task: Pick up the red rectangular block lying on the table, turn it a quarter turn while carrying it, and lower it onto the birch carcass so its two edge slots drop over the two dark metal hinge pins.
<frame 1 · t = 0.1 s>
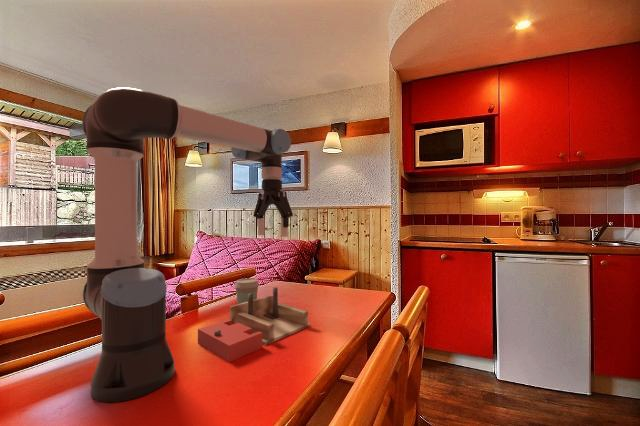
hand: (272, 236, 108), 28 cm above the table, fingers open, 13 cm apart
coffee cup: (247, 313, 105), on the table
red rectangular block: (229, 345, 79), on the table
carcass: (270, 327, 92), on the table
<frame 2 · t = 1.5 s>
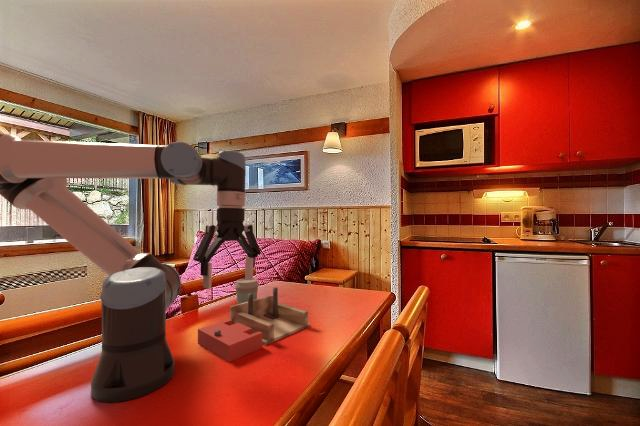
hand: (229, 283, 80), 17 cm above the table, fingers open, 13 cm apart
nothing on the table moved.
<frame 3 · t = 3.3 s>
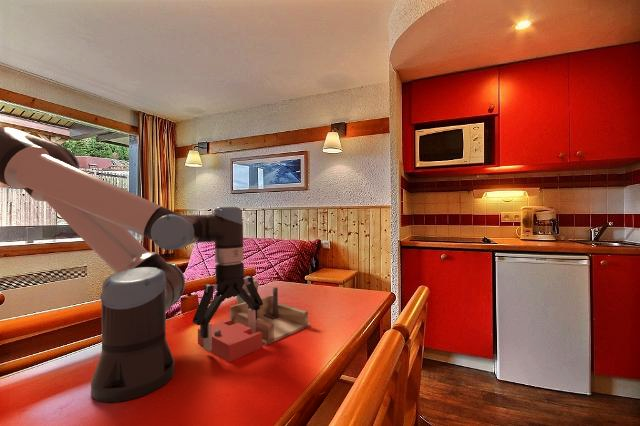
hand: (231, 340, 79), 1 cm above the table, fingers open, 13 cm apart
nothing on the table moved.
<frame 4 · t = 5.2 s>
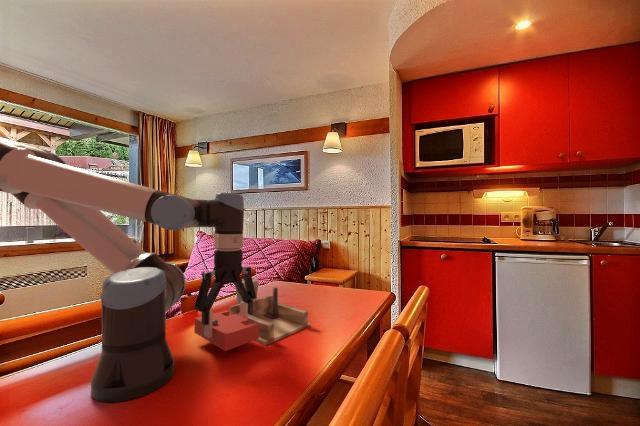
hand: (226, 330, 79), 4 cm above the table, fingers closed on red rectangular block, 10 cm apart
red rectangular block: (225, 335, 79), point 3 cm above the table, touching gripper
everything else where it was.
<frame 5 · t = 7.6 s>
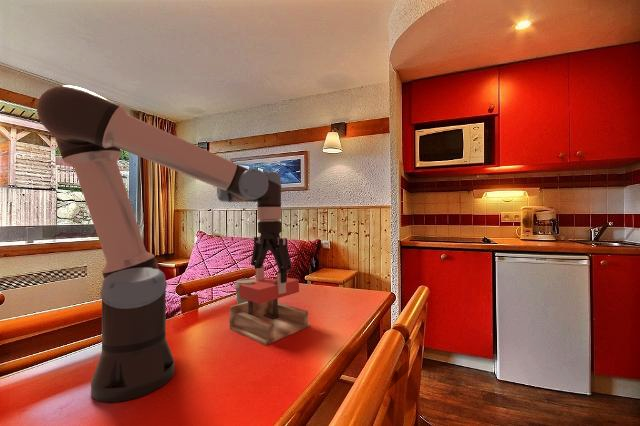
hand: (270, 290, 92), 12 cm above the table, fingers closed on red rectangular block, 10 cm apart
red rectangular block: (270, 294, 92), point 10 cm above the table, touching gripper
everything else where it was.
when the fingers open (5 cm above the table, at t = 9.9 s): red rectangular block stays where it is, resting on carcass.
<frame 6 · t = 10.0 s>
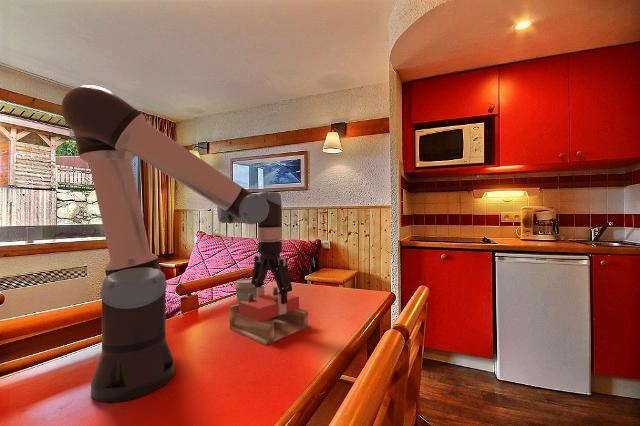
hand: (271, 310, 92), 5 cm above the table, fingers open, 10 cm apart
red rectangular block: (270, 311, 92), point 5 cm above the table, touching carcass
everything else where it was.
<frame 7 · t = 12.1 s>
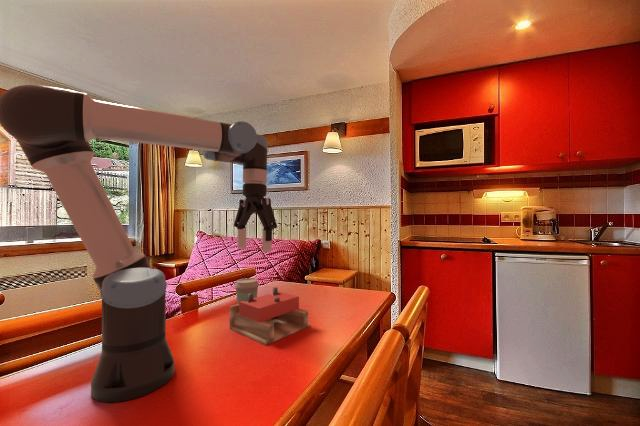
hand: (253, 250, 92), 25 cm above the table, fingers open, 13 cm apart
nothing on the table moved.
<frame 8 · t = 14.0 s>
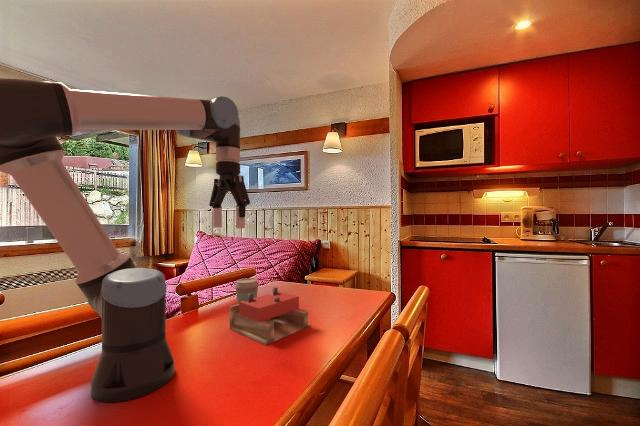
hand: (228, 227, 93), 32 cm above the table, fingers open, 13 cm apart
nothing on the table moved.
at the end: red rectangular block 0.1 cm off-centre on the carcass, point 5.0 cm above the carcass's base; red rectangular block tilted 0°; the gripper is holding nothing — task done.
